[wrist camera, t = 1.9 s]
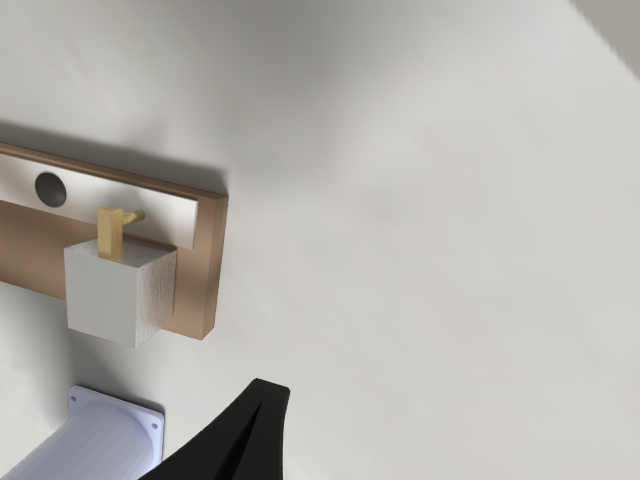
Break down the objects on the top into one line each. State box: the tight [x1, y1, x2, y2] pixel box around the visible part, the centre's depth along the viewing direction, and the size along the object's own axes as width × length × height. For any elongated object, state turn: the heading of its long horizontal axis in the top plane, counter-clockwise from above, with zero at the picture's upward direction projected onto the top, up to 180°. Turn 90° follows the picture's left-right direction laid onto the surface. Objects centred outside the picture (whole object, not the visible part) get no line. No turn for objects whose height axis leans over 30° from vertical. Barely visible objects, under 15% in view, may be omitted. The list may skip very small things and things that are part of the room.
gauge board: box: [0, 142, 229, 341], centre depth 18 cm, size 9×26×4 cm, turn 78°
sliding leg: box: [64, 206, 177, 348], centre depth 16 cm, size 7×4×3 cm, turn 168°
